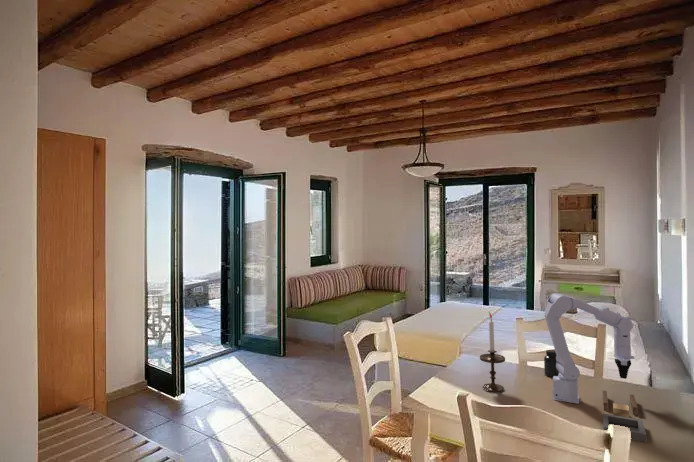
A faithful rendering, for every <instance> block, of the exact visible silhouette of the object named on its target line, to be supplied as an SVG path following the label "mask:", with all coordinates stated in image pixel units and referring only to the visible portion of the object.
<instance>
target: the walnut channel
mask: <svg viewBox="0 0 694 462" xmlns="http://www.w3.org/2000/svg"><path fill="white" fill-rule="evenodd" d="M629 403H630V407H631V408H630V409H631V413H632V416H637V417H638V416H639V415H638V414H639V407H638V404H637V401H636V397H635V394H631V393H630V394H629ZM602 405H603V411H607V412H609V399H608V390H602Z"/></svg>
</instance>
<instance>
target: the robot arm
mask: <svg viewBox="0 0 694 462" xmlns="http://www.w3.org/2000/svg"><path fill="white" fill-rule="evenodd" d="M546 304H547V305H546V307H545V311H544V319H545V323H546V325H547V328H548V329H547V330H548V332H549V335H550V338H551V341H552V345H553V347H554V350H555V351H556V355H557V356H556V360H557V363H556V368H557V370H558V371H559V374H558V376H553V377H552V399H553V400H554V401H559V402H567V403H571V404H580V396H579V385H578V384H579V383H578V382H579V377H580V370H579V368H578V366H576V363H575V361H574V360H573V357H572V356H571V354H570V350H569V347H568V344H567V340H566V337H565V334H564V330H563V328H562V325H561V322H560V318H561V317H562V316H563V315H564V314H565V313H567V312H568V311H569V310H574V309H579V310H581V311H584V312H586V313H589V314H591V315H593V316H594V317H595V320H596V321H599V322H602V323H604V324H607V325H609V326H610V327H613V347H614V348H613V349H614V351H613V352H614V354H613V357H614V363H615V365H616V367H617V369H618V374H619V378H620V379H625V380H626V379H628V375H629V374H628V373H629V369H630V367H631V365H632V360H634V359H635V358H636V357H635V356H634V355H632V348H631V346H632V343H631V332H632V331H631V330H632V329H633V328H634V324H633V323H632V322H633V321H632V320H631V319H630V318H629V317H627V316H624V315H622V314H621V313H619V312H615V311H613V310H611V309H610V308H609V307H606V306H604V307H603V306H600V307H596V306H594V305H591V304H589V303H587V302H584V301H583V300H580V299H578V298H575V297H572V296H570V295H566V294H562V293H559V292H554V293H552V294H551V295H550V296H549V297H548V298H547V300H546Z"/></svg>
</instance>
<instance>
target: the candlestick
mask: <svg viewBox="0 0 694 462" xmlns="http://www.w3.org/2000/svg"><path fill="white" fill-rule="evenodd" d="M488 314H489V317H490V320H489V322H488V328H489V329H488V331H489V332H488V333H489V350H487V352H488V353H484V354H483V353H482V354H480V355H479V360H480V361H482V362H483V363H489V364H490V371H489V375H490V376H489V378H490V379H491V383H490V382H489V383H485V384H483V385H484V386H485V385H486V386H487V385H489V387H488V388H487V387H486V386H485V387H484V386H483V385H482V389H483V388H484V389H486V390H488V391H490V392H489V393H491V392H500V393H502V392H501V391H503V390H505V387H504V386H503V385H501V384H497V383H495V382H496V381H495V380H496V379H497V378H496V377H495V376H496V375H497V371H495V364H500V363H501V364H502V363H504V362H506V357H505V356H504V355H501V354H497V353H498V352H497V350H495V329H494V327H495V325H494V321H493V316H492V314H491V312H490V311H489V313H488ZM484 389H483V390H484ZM503 392H504V391H503Z"/></svg>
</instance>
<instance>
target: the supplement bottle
mask: <svg viewBox="0 0 694 462" xmlns="http://www.w3.org/2000/svg"><path fill="white" fill-rule="evenodd" d="M556 356H557V355H556V351H555V349H546V351H545V356H543V357H544V358H543V361H544V362H543V363H544V365H543V370H544V376H546V377H549V378H553V376H558V374H559V371H558V370H557V368H556V363H557V360H556Z"/></svg>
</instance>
